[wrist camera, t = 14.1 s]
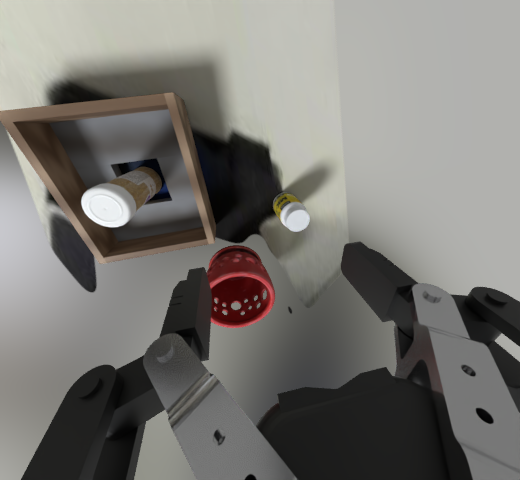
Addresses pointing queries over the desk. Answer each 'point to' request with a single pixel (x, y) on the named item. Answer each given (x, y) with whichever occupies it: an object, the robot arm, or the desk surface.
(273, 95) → the desk surface
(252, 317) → the plant pot
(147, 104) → the wooden box
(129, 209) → the sprinkles bottle
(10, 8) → the desk surface
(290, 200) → the supplement bottle
